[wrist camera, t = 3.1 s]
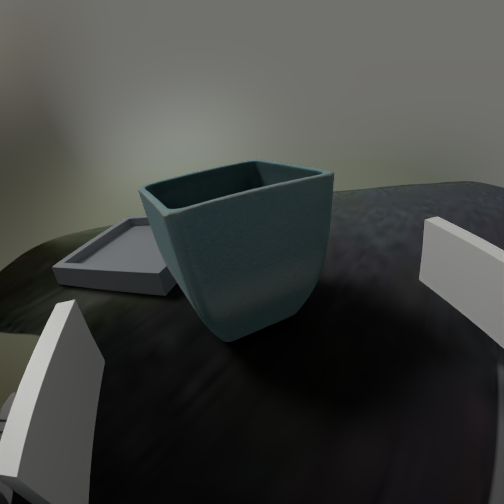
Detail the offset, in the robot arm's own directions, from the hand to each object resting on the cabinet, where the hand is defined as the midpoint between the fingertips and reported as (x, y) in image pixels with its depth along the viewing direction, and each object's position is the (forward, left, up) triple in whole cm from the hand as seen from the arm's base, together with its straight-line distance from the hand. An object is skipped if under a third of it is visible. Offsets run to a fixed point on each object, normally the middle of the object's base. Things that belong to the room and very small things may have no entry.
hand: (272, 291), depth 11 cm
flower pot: (+4, -7, -7) cm, 11 cm away
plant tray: (+18, -15, -6) cm, 25 cm away
